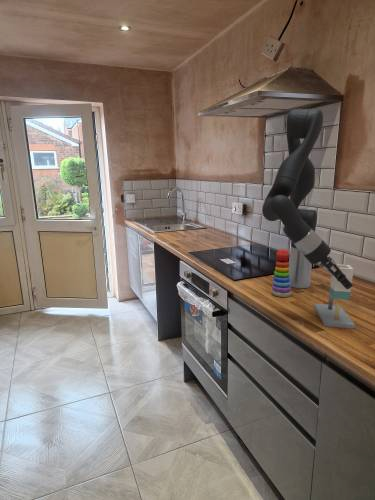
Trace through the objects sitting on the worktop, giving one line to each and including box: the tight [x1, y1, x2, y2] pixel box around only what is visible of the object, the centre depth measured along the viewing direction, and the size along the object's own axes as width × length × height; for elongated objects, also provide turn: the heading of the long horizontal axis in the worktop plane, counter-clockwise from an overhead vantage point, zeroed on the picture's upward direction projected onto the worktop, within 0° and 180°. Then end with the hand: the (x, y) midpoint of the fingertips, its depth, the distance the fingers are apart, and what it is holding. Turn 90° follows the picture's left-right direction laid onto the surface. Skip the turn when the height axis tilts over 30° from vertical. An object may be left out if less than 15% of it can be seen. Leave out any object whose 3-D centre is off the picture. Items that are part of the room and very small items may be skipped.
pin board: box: [313, 294, 356, 329], centre depth 110 cm, size 16×9×6 cm, turn 171°
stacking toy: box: [270, 248, 292, 298], centre depth 129 cm, size 8×8×19 cm
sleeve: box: [329, 263, 354, 300], centre depth 103 cm, size 5×5×10 cm
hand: (347, 284), depth 103 cm, fingers closed on sleeve, 4 cm apart
